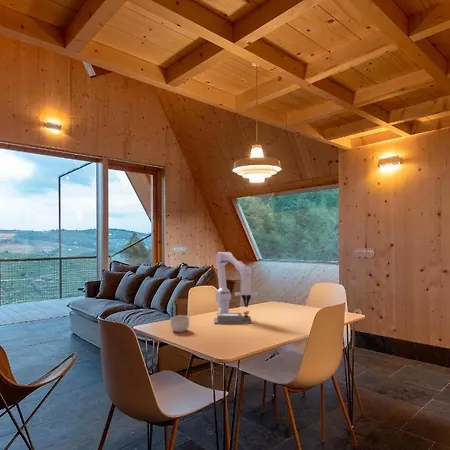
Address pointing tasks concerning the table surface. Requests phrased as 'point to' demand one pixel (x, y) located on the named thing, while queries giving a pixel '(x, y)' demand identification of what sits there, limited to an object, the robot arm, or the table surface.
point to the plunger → (246, 313)
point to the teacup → (179, 323)
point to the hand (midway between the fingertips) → (246, 306)
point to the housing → (232, 319)
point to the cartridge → (225, 314)
